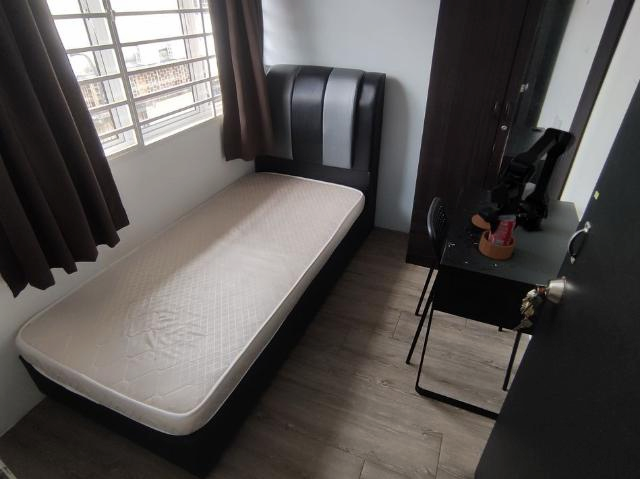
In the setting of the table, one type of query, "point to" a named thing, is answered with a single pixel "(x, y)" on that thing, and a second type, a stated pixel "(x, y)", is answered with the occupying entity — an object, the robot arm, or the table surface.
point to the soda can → (503, 231)
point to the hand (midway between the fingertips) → (500, 233)
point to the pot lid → (480, 222)
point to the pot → (495, 247)
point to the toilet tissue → (528, 190)
